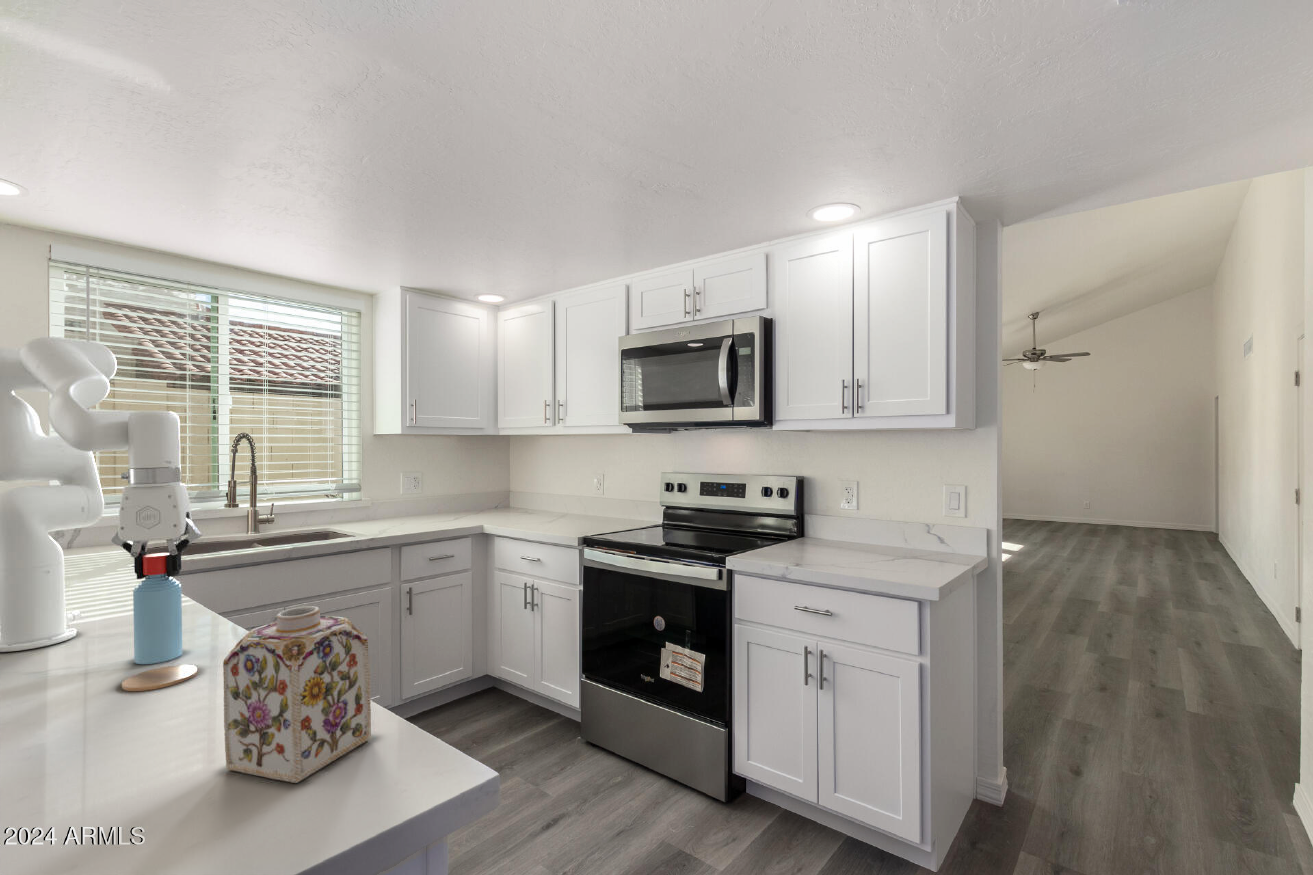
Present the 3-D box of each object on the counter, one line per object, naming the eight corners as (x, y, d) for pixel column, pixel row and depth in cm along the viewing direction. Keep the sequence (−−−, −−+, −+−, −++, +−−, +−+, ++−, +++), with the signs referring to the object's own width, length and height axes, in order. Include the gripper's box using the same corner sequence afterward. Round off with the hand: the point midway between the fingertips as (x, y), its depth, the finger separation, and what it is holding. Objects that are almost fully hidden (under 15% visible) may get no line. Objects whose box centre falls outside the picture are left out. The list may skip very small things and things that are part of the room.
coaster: (147, 670, 111) (147, 667, 111) (209, 666, 112) (209, 662, 112) (106, 693, 101) (105, 689, 101) (174, 688, 102) (174, 684, 102)
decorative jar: (374, 739, 83) (370, 601, 83) (297, 786, 72) (293, 627, 72) (304, 727, 87) (300, 596, 87) (221, 770, 76) (217, 620, 76)
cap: (137, 574, 116) (137, 556, 116) (159, 569, 120) (159, 552, 120) (154, 575, 115) (154, 557, 115) (176, 570, 119) (176, 553, 119)
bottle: (149, 652, 121) (147, 557, 120) (190, 649, 122) (188, 555, 122) (125, 665, 114) (123, 565, 113) (168, 662, 115) (167, 563, 115)
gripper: (89, 480, 112) (92, 584, 112) (197, 477, 116) (200, 577, 116) (115, 478, 119) (117, 575, 120) (215, 474, 123) (218, 569, 123)
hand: (158, 575), depth 118 cm, fingers closed on cap, 4 cm apart
